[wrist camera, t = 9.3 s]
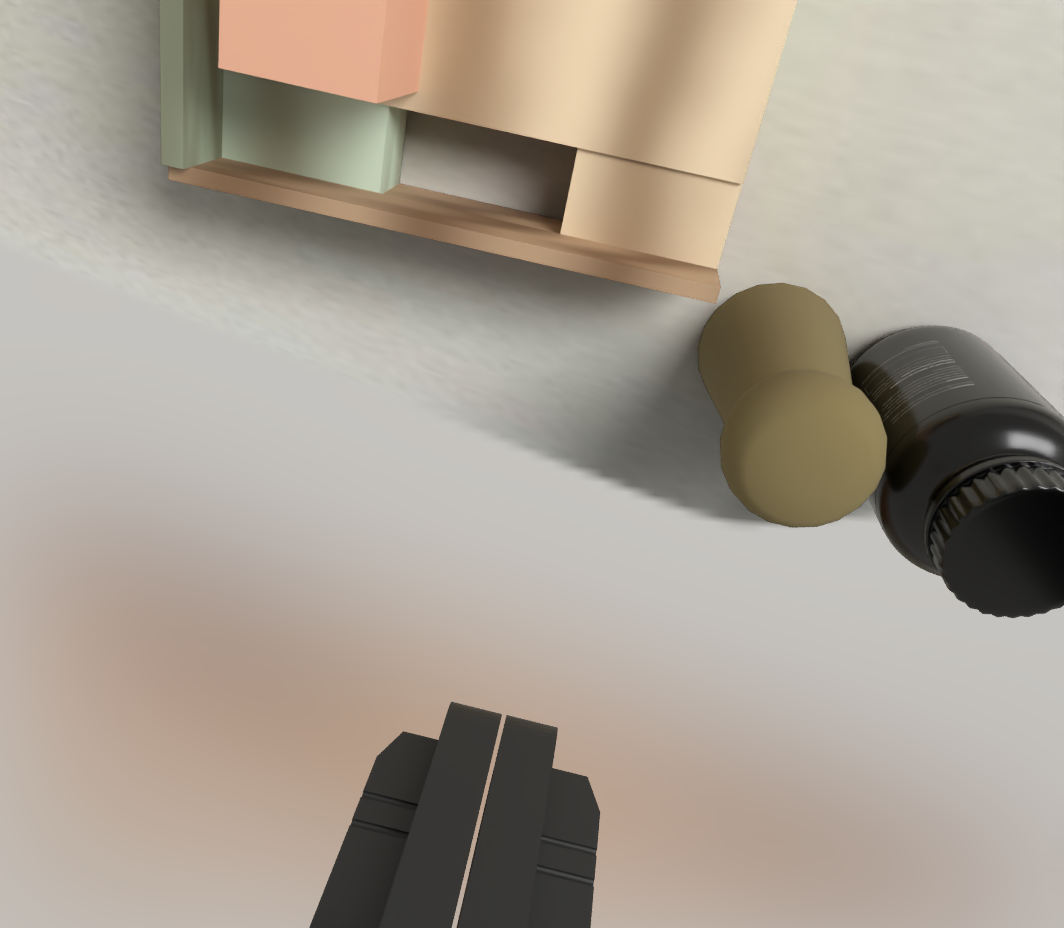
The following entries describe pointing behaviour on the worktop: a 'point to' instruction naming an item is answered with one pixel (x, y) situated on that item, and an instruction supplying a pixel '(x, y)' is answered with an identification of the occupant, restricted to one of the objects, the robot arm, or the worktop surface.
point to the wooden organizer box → (508, 127)
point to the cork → (790, 407)
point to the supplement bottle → (969, 469)
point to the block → (327, 44)
